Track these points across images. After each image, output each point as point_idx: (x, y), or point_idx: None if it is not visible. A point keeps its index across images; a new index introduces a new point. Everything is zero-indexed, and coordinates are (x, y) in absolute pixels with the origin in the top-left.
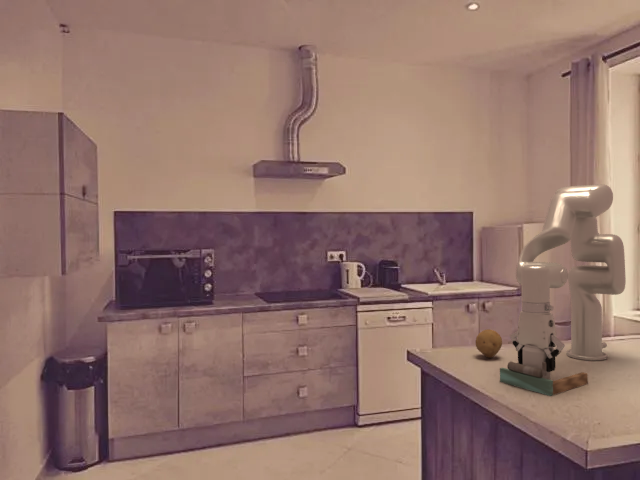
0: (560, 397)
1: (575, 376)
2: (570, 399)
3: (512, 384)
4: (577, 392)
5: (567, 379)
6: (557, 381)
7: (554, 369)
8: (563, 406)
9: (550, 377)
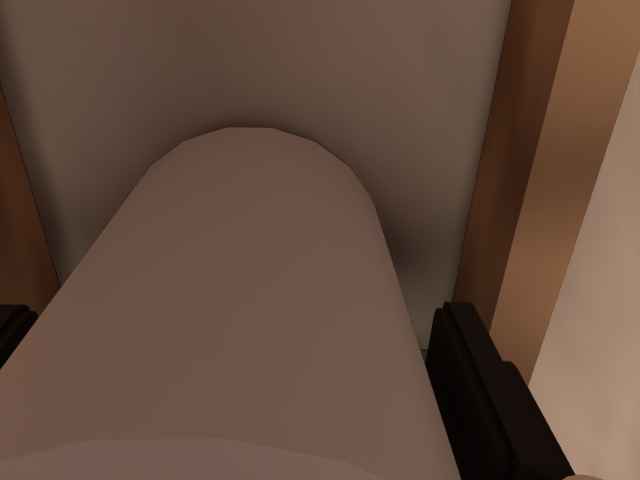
0: (543, 348)
1: (634, 17)
2: (613, 335)
3: None
4: (619, 157)
5: (581, 215)
6: (522, 339)
7: (470, 307)
8: (609, 447)
9: (383, 234)
